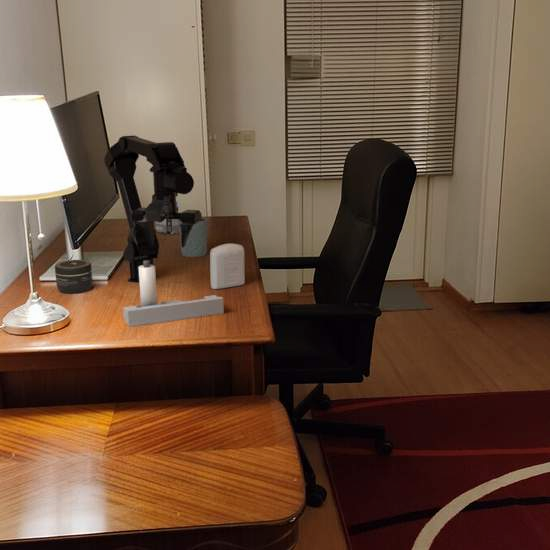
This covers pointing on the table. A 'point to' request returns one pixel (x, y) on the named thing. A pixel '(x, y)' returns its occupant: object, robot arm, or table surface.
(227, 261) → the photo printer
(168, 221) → the label tape box
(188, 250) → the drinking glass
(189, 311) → the cable duct
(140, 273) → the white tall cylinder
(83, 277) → the jar
